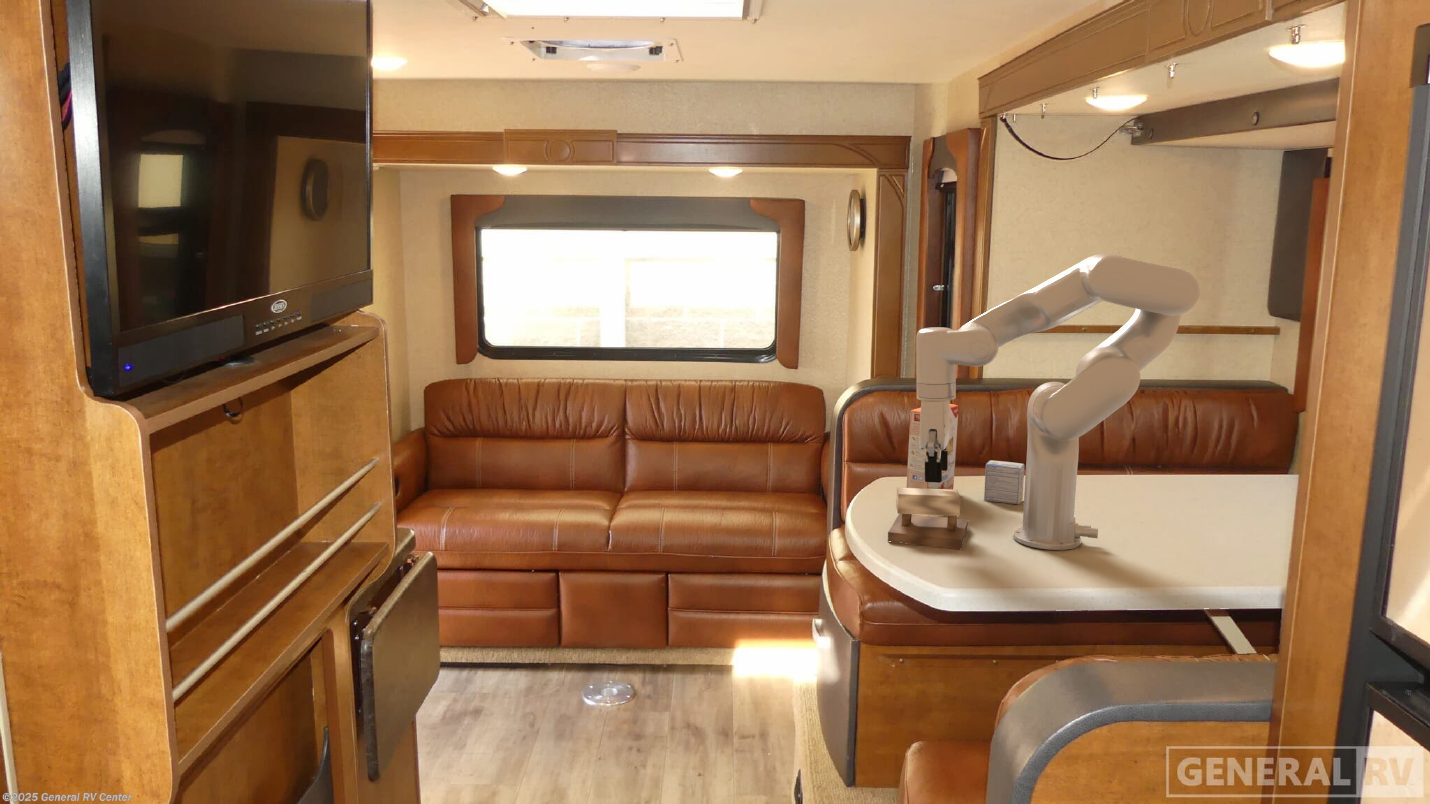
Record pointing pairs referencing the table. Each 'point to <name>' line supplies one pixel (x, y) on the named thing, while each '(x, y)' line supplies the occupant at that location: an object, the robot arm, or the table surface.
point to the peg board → (929, 531)
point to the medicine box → (1004, 482)
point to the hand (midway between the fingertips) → (936, 475)
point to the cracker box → (918, 456)
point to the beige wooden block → (928, 501)
